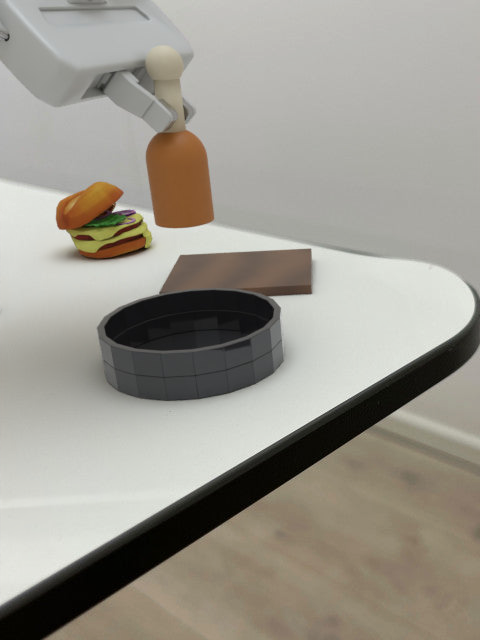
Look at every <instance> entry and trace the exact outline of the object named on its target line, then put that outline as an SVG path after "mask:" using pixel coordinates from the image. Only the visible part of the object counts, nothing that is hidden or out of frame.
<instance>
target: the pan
mask: <svg viewBox="0 0 480 640" xmlns="http://www.w3.org/2000/svg"><path fill="white" fill-rule="evenodd" d="M283 327H284V326H283V316H282V307H281V306H280V305H279V303H278V302H277V301H276V300H275V299H274V298H272V297H270V296H265V295H262V294H260V293H257V292H251V291H246V290H241V289H229V288H200V289H187V290H180V291H173V292H167V293H161V294H159V293H157V294H153V295H150V296H146V297H142V298H139V299H136V300H134V301H131V302H129V303H126V304H124V305H121V306H118V307H117V308H115V309H113V310H112V311H110V313H108V314H106V315H105V316H104V317H102V319H101V321H100V322H99V323H98V325H97V326H96V331H97V337H98V342H99V348H100V354H101V358H102V364H103V368H104V373H105V380H106V382H107V383H108V384H109V385H110V386H111V387H112V388H113V389H115V390H116V391H118V392H120V393H122V394H125V395H127V396H130V397H134V398H138V399H142V400H143V399H144V400H151V401H164V402H165V401H166V402H169V401H170V402H175V401H178V402H179V401H181V402H182V401H192V400H193V401H194V400H200V399H207V398H208V399H209V398H215V397H218V396H223V395H227V394H231V393H235V392H237V391H240V390H244V389H245V388H248V387H250V386H253V385H255V384H257V383H259V382H261V381H263V380H265V379H266V378H268V377H269V376H271V375H272V374H273V373H275V371H277V370H278V369H279V368H280V366H281V365H282V363H283V362H284V359H285V342H284V341H285V339H284V338H285V337H284V329H283Z"/></svg>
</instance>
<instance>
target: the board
mask: <svg viewBox="0 0 480 640" xmlns="http://www.w3.org/2000/svg"><path fill="white" fill-rule="evenodd" d="M170 270H171V271H170V272H169V274H168V276H167V278H166V280H165V281H164V283H163V285H162V286H161V288H160V291H159V292H158V294H161V293H167V292H173V291H180V290H187V289H200V288H229V289H241V290H246V291H251V292H257V293H260V294H262V295H265V296H267V297H279V296H281V297H282V296H297V295H298V296H301V295H302V296H303V295H313V253H312V248H311V247H310V248H293V249H292V248H291V249H274V250H273V249H272V250H271V249H270V250H252V251H250V250H249V251H233V252H231V251H230V252H211V253H193V254H180V255H179V256H178V258H177V260H176V262H175V263H174V265H173V267H172V269H170Z"/></svg>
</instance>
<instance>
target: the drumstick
mask: <svg viewBox="0 0 480 640" xmlns="http://www.w3.org/2000/svg"><path fill="white" fill-rule="evenodd" d="M145 64H146V70H147V72H148V74H149V76H150V77H151V78H152V79H153V84H154V91H155V97H156V98H157V99H158V100H159V99H164V100H165V101H166V102H167V103H168V104H169V105H170V106H171V108H173V109H174V110H175V111H176V112H177V113H178V119H177V121H176V122H175V123H174V124H173V126H172V127H171V128H170V129H169V130H166V131H163V132H160V133H158V132H156V134H155V135H154V136H152V138H151V139H150V140H149V142H148V144H147V147H146V149H145V164H146V170H147V171H146V172H147V178H148V185H149V191H150V197H151V203H152V204H151V205H152V211H153V219H154V224H155V225H156V226H157V227H159V228H164V229H189V228H195V227H200V226H204V225H208V224H210V223H211V222H213V221H214V220H215V211H214V202H213V195H212V194H213V193H212V186H211V178H210V177H211V176H210V168H209V160H208V158H209V157H208V153H207V150H206V147H205V145H204V144H203V142H202V141H201V139H200V138H199V137H198V136H197V135H196V134H194V133H193V132H192V131H190V130H187V126H186V125H187V124H185V117H184V109H183V101H182V94H183V92H182V93H181V91H182V86H181V77H182V75H183V73H184V71H183V61H182V58H181V56H180V54H179V53H178V52H177V51H176V50H175V49H173V48H172V47H169V46H165V45H160V46H156V47H154V48H153V49H151V50H150V52H149V53H148V55H147V57H146V62H145Z"/></svg>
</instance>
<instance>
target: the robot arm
mask: <svg viewBox="0 0 480 640" xmlns="http://www.w3.org/2000/svg"><path fill="white" fill-rule="evenodd" d="M160 45H165V46H169V47H172V48H173V49H175V50H176V51H177V52H178V53H179V54H180V56H181V58H182V61H183V72H185V70H186V69H187V68H188V66H189V64H190V63H191V62H192V60H193V59H194V57H195V52H194V50H193V49H194V48H193V47H192V45H191V43H190V41H189V39H188V38H187V37H186V35H184V34H183V32H182V31H181V30H180V29H179V27H178V26H177V25H176V24H175V23H174V22H173V21H172V19H170V18H169V16H167V15H166V13H164V11H162V9H161V8H160V7H159V6H158V5H157V4H156V2H154V0H0V62H1V63H2V64H3V65H4V66H5V67H6V69H7V70H8V71H9V72H10V73H11V74H12V75H13V76H14V77H15V78H16V79H17V81H19V83H20V84H21V85H22V86H23V87H24V88H25V89H26V90H27V91H29V93H30V94H31V95H32V96H34V98H36V99H38V100H39V101H41V102H43V103H44V104H47V105H49V106H50V107H53V108H63V107H67V106H71V105H76V104H81V103H85V102H88V101H89V102H90V101H94V100H99V99H104V98H108V99H109V100H110V101H112V103H113V104H115V105H116V106H117V107H119V108H121V109H122V110H124V111H126V112H128V113H130V114H131V115H134V116H135V117H137V118H139V119H142V120H143V121H144V122H145V123H146V124H147V125H148V126H149V127H150V128H151V129H152V130H153V131H155V132H156V133H160V132H163V131H166V130H169V129H170V128H171V127H172V126H173V124H174V123H175V122H176V121H177V119H178V113H177V112H176V111H175V110H174V109H173V108H171V106H170V105H169V104H168V103H167V102H166V101H165V100H164V99H159V100H158V99H157V98H156V97H155V91H154V84H153V79H152V78H151V77H150V76H149V74H148V72H147V70H146V64H145V62H146V57H147V55H148V53H149V52H150V50H151V49H153V48H154V47H156V46H160ZM181 93H182V101H183V109H184V117H185V125H187V124H189V123H190V122H191V121H192V119H193V118H194V116H196V114H197V108H196V106H195V105H194V103H192V102H191V101H190V100H189V99H188V98H187V96H185V95H184V94H183V92H182V90H181Z"/></svg>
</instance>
